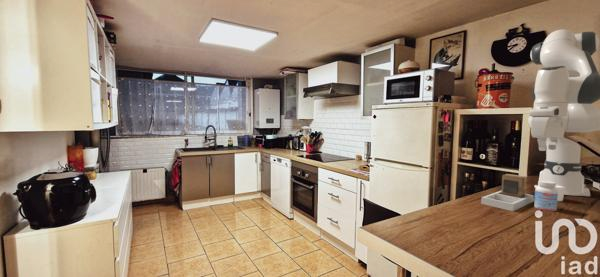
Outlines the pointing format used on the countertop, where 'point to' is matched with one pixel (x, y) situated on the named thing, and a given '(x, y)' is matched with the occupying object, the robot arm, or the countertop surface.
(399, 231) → the countertop surface
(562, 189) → the white ramekin
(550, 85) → the robot arm
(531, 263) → the countertop surface
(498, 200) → the grey compartment tray
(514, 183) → the brown wooden block
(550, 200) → the pill bottle
